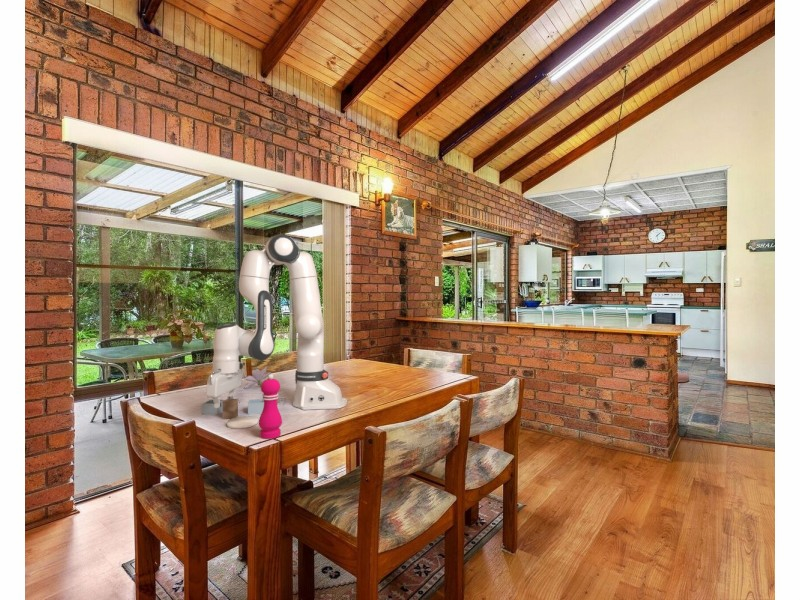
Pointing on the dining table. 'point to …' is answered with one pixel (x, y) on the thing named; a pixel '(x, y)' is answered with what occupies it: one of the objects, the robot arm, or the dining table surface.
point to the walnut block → (230, 408)
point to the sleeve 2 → (255, 406)
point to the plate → (242, 422)
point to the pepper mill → (270, 409)
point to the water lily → (256, 377)
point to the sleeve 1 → (211, 408)
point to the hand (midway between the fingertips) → (224, 404)
